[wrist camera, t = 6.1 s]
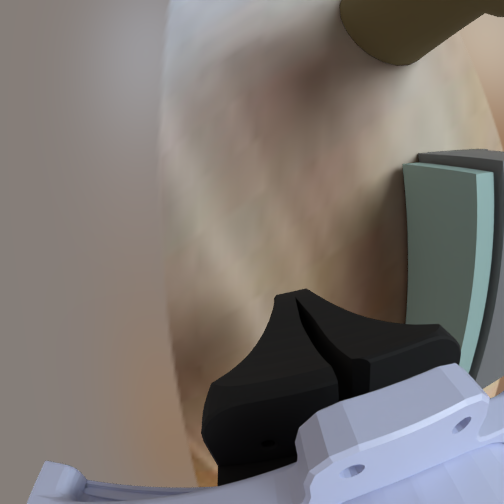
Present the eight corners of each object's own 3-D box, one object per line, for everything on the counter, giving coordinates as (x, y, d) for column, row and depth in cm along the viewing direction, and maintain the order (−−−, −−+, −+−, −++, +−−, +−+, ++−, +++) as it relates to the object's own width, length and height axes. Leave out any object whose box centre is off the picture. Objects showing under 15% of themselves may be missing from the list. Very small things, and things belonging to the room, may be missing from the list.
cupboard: (475, 314, 19) (527, 358, 12) (419, 337, 19) (470, 395, 12) (480, 148, 15) (557, 157, 8) (418, 153, 15) (502, 160, 9)
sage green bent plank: (417, 336, 19) (463, 389, 13) (404, 341, 19) (448, 396, 13) (418, 162, 15) (493, 171, 9) (402, 164, 15) (475, 173, 9)
